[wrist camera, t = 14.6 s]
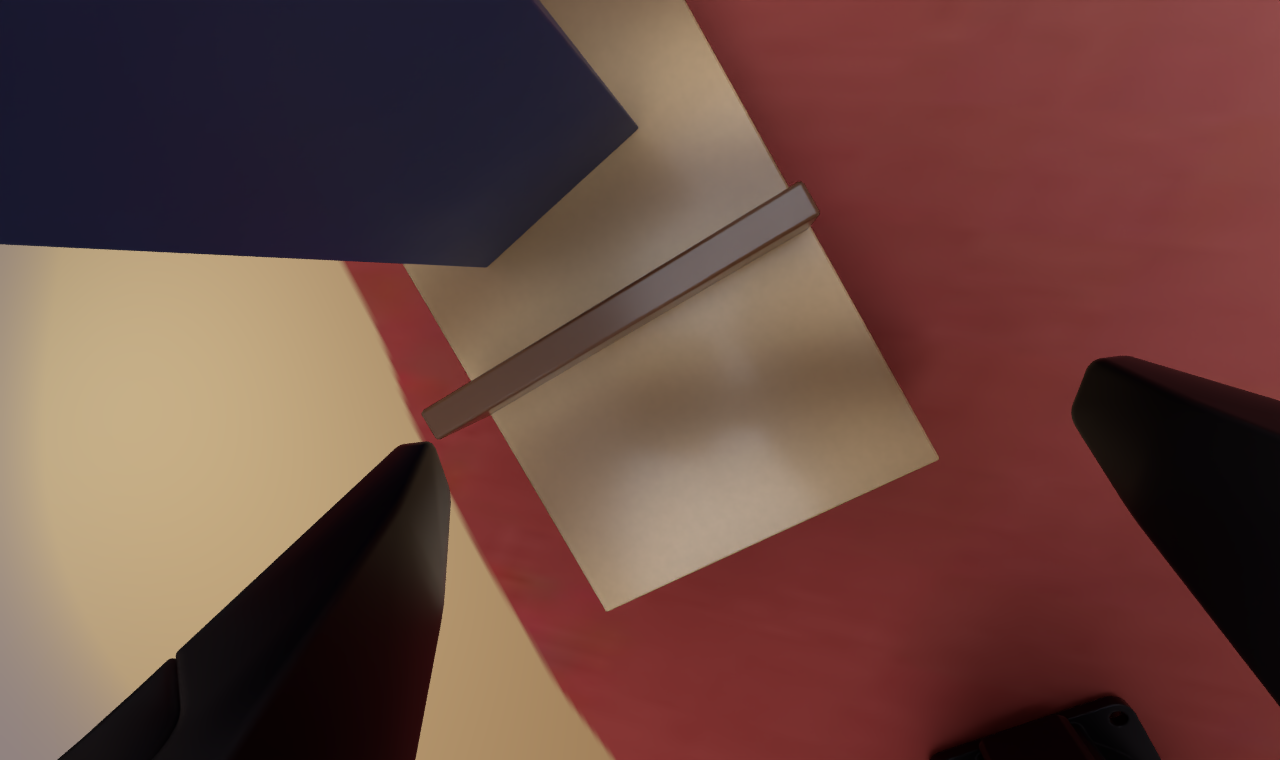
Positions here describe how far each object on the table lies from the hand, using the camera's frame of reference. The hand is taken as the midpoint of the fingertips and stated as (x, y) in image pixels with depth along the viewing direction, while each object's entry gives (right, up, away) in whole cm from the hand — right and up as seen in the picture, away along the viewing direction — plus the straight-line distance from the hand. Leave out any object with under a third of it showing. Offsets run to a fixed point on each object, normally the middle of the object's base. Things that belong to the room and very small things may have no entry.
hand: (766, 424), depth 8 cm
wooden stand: (-2, +5, +12) cm, 13 cm away
